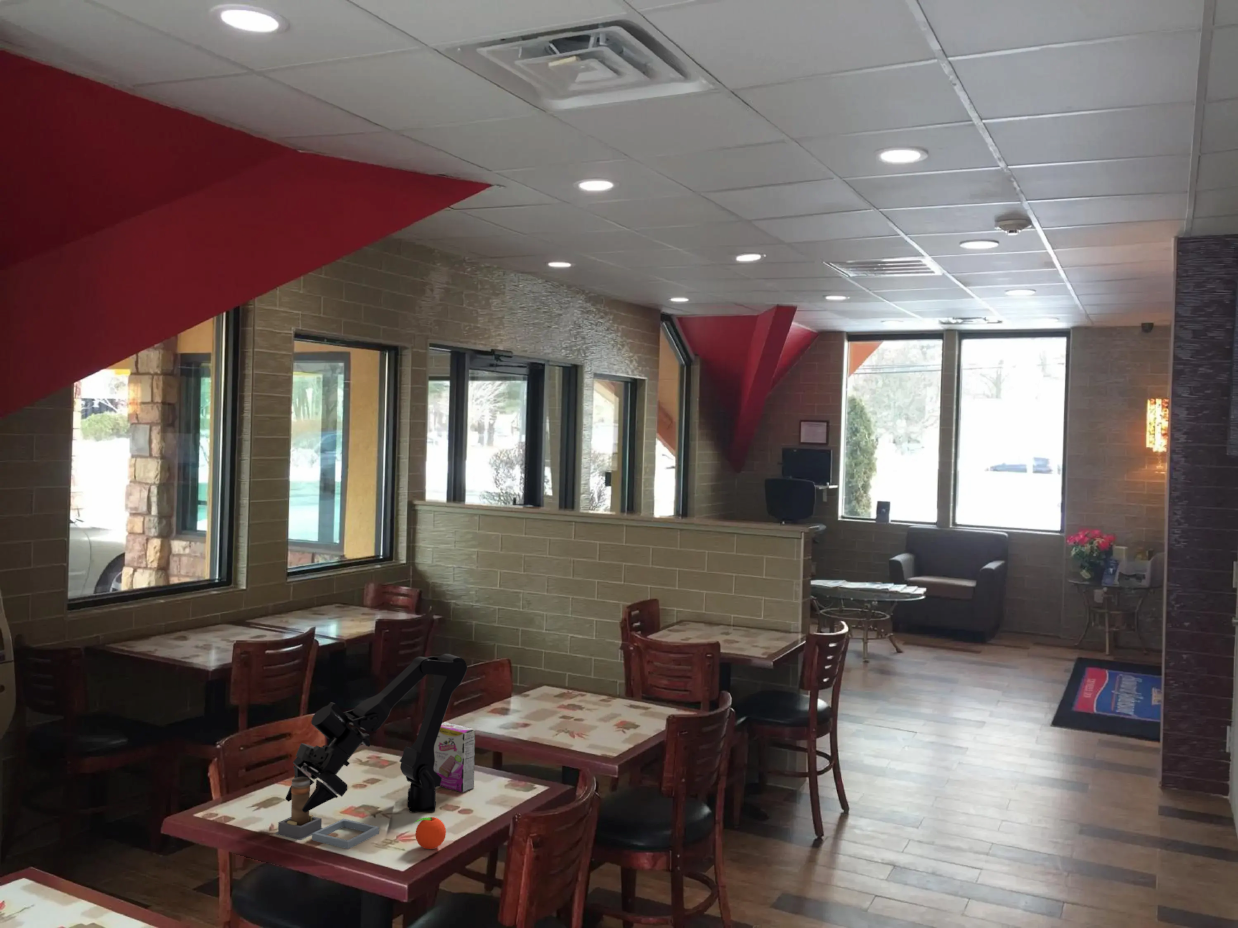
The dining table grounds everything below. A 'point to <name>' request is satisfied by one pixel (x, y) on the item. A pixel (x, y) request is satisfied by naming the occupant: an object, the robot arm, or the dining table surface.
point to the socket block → (299, 828)
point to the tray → (324, 838)
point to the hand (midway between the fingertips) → (294, 805)
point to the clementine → (430, 832)
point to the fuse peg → (300, 799)
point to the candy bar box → (455, 757)
